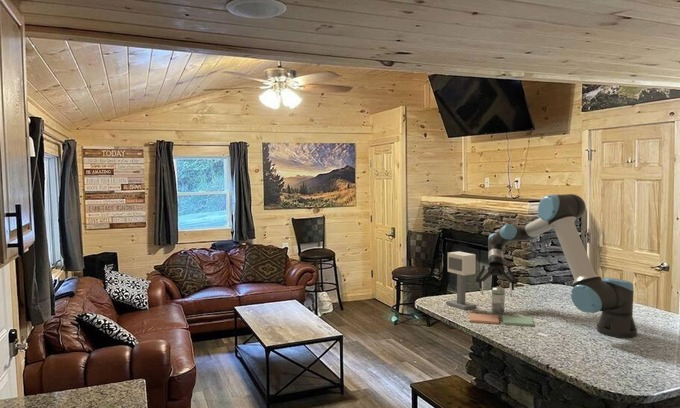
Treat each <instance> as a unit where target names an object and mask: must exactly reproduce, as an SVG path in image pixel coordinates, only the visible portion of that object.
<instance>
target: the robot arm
mask: <svg viewBox="0 0 680 408" xmlns="http://www.w3.org/2000/svg"><path fill="white" fill-rule="evenodd" d="M586 206H587V205H586V202H585V200H584V199H583V198H582V197H581V196H579V195H577V194H574V193H569V194H555V193H554V194H549V195H545V196H543V197H542V198H541V199H540V201H539V203H538V206H537V213H538V216H539V217H538V218H536V219H534V220H532V221H531V222H529V223H527V224H525V225H524V226H514V225H513V224H510V223H506V224H504V225H503V226H502V227H501V228H500V229H499V230H498V231H497V232H493V233H490V234H489V236H488V240H487V246H488V255H487V257H488V266H485V265H484V264H483V265H482V266H481V267H482V268H481V270H480V271H479V273H478V275H477V276H476V277H475V283H477V284H478V285H479V289H480V290H481V296H484V282H485V281H486V280H487V279H488V278H489V277H491V276H497V277H499V276H501V277H502V278H504V280H505V281H506V282H508V283H509V297H512V296H513V291H514V290H515V285H518V279H517V277H516V276H515V274H514V273H513V272H512V270H511V266H507V267H505V266H504V263H505V262H504V248H505V246H506V245H508V244H509V243H512V242H529V241H534V240H536V238H537V237H538V236H539V235H542V234H543V233H546V232H548V231H550V230H552V229H553V230H554V232H555V235H556V236H557V239H558V241H559V244H560V246H561V249H562V252H563V255H564V257H565V260H566V262H567V265H568V267H569V270H570V272H571V274H572V278H573V282H572V287H573V288H571V293H570V298H571V302H572V303H573V305H574V306H575V307H576V308H577V310H579V311H581V312H582V313H586V314H590V313H591V314H595V313H598V312H601V314H600V316H599V319H598V321H597V324H596V331H597V332H598V333H601V334H603V335H606V336H610V337H614V338H623V339H624V338H626V339H627V338H634V337H636V336H637V335H638V329H637V325H636V322H635V320H634V314H633V310H634V309H633V308H634V293H635V291H634V284H633V283H632V282H631V281H629V280H625V279H621V278H614V277H603V278H602V277H601V275H599V274H596V272H595V270H594V268H593V266H592V262H591V260H590V258H589V256H588V253H587V251H586V247H585V246H584V243H583V242H582V239H581V237H580V234H579V232H578V229H577V226H576V224H575V222H576V220H578V219H580V218H581V217H582V216H584V214H585V212H586V210H587V209H586ZM486 271H487V272H486ZM485 272H486V273H485ZM484 273H485V274H484Z"/></svg>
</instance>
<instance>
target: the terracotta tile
mask: <svg viewBox="0 0 680 408" xmlns="http://www.w3.org/2000/svg"><path fill="white" fill-rule="evenodd" d="M469 323H479V324H495V325H499V323H500V320H499V314H487V313H486V314H483V313H471V312H470V313H469Z"/></svg>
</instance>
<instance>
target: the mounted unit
mask: <svg viewBox="0 0 680 408" xmlns="http://www.w3.org/2000/svg"><path fill="white" fill-rule="evenodd" d="M476 257H477V255H476V254H475V253H469V252H463V251H451V252H447V272H448V273H451V274H456V299H452V300H447V301H446V302H445V305H447V306H451V307H453V308H456V309H460V310H461V311H466V310H472V309H476V308H477V306H478V305H477V304H476V303H472V302H469V301H466V282H467V281H466V278H467V276H470V275H476V263H477V261H476Z"/></svg>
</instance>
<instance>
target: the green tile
mask: <svg viewBox="0 0 680 408" xmlns="http://www.w3.org/2000/svg"><path fill="white" fill-rule="evenodd" d="M501 315H502V316H501V318H502V324H503V325H510V326H522V327H523V326H524V327H534V325H535V323H534V321H533V319H532V317H531V316H518V315H503V314H501Z"/></svg>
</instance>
